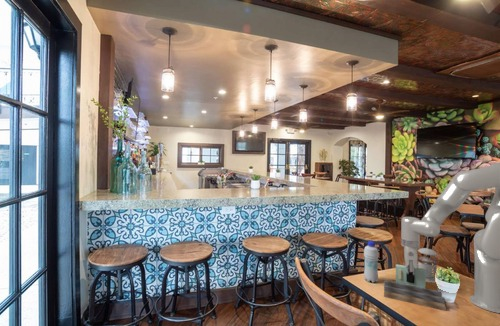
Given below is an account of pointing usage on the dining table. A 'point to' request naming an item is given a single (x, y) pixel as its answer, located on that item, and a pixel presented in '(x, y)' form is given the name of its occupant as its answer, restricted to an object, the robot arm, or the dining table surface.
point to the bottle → (371, 262)
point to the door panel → (418, 278)
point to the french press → (428, 263)
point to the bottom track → (414, 295)
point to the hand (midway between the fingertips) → (410, 280)
